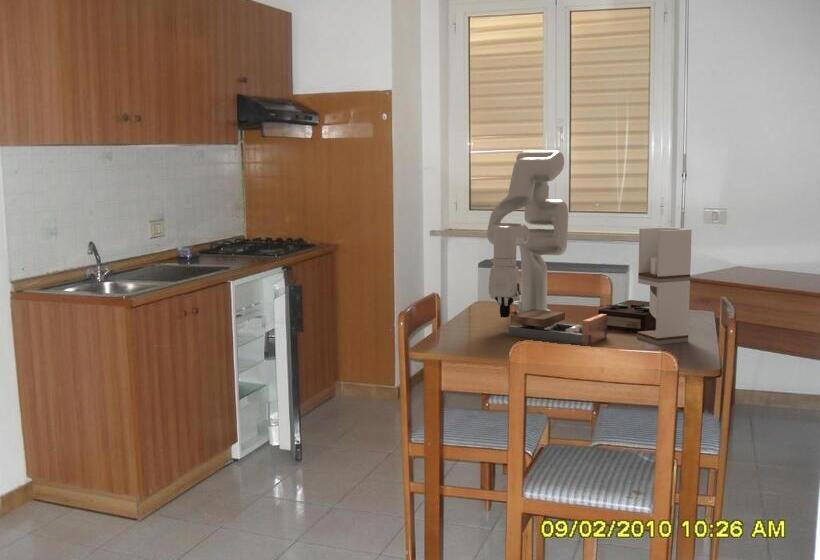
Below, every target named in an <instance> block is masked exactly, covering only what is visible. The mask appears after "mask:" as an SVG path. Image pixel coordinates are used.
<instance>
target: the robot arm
mask: <svg viewBox="0 0 820 560" xmlns="http://www.w3.org/2000/svg"><path fill="white" fill-rule="evenodd" d="M564 166H565V157H564V154H563V153H562V152H561V151H560V150H554V149H553V150H551V149H549V150H524V151H520V152H519V153H518V154H517V156H516V161H515V163H514V164H513V169H512V172H511V173H512V174H511V177H510V183H509V187H508V188H509V189H508V193H507V195H506V197H504V198H503V199H501V201H500V202H498V203H497V205H496V206H495V207H494V209H493V210H492V211H491V213H490V216H489V220H488V221H489V222H488V226H487V231H486V234H487V241H488V242H489V243H490V244H491V245H493V258H491V259H490V262H491V263H493V264H492V266H491V267H490V271H489V278H488V279H489V280H488V295H489V296H490V299H492V300H495V301H496V302H497V303H498V306H499V315H500V318H509V317H510V316H511V315H510V314H511V305H512V307H517V308H518V309H517V310H516V314H518V313H522V312H525V311H528V310H531V309H536V310H546V311H552V310H551V309H549V308H548V266H547V263H546V261H545V259H544V258H543V257H542V256H561V255H563V254H565V253H566V251H567V245H568V231H569V230H568V228H569V227H568V226H569V208H568V205H567V203H566V202H565V200H562V199H553V198H552V199H549V192H550V191H549V190H550V186H549V182H552V181H554V180H555V179H556V178H557V177H558V176H559V175H560V174H561V173H562V171H563V170H564ZM523 207H524V221H525V222H526V224H529V225H532V226H553V228H550V229H549V228H529V226H527V225H526V224H523V223H510V222H509V223H508V222H502V221H503V220H504V218H505V217H506V216H507V215H508V214H509V215H510V213H513V212H516V211H518V210H519V209H521V208H523ZM501 222H502V223H501ZM518 246H519V253H520V266H521V267H520V269H521V270H520V271H519V267H518V266H517V247H518ZM520 272H521V274H520ZM520 275H521V276H520Z"/></svg>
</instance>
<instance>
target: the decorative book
mask: <svg viewBox="0 0 820 560" xmlns="http://www.w3.org/2000/svg"><path fill="white" fill-rule="evenodd" d="M599 307H603V308H600V309H598V310H597V311H598V312H597V315H600V314H607V331H608V330H611V331H620V332H624V333H625V332H626V333H634V334H637V332H641V331H652V330H656V318H654V317H653V316H652V315H651V313H650V310H649V307H650V301H645V300H634V299H629V300H625V301H623V302H619V303H615V304H612V305H610V304H606V305H599Z"/></svg>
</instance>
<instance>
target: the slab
mask: <svg viewBox="0 0 820 560" xmlns="http://www.w3.org/2000/svg"><path fill="white" fill-rule="evenodd" d="M564 320H566V312H565V311H554V310H551V311H546V310H536V309H531V310H528V311H525V312H522V313H518V314H517V313H516V314H511V315H510V324H516V325H520V324H523V325H532V326H540V327H545V326H548V325H551V324H553V323H560V322H562V321H564Z"/></svg>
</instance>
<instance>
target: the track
mask: <svg viewBox="0 0 820 560" xmlns="http://www.w3.org/2000/svg"><path fill="white" fill-rule="evenodd" d="M576 325H577V324H572V323H561V322H556V323H553V324H551V325H548V326H545V327H540V326H532V325H523V324H518V325H509V326H508V336H509V337H510V336H511V337H517V338H526V339H527V338H528V339H535V340H542V341H549V342H550V341H551V342H557V341H561V342H560V343H565V342H568V343H567V344H573V343H577V344H576V345H581V346H590V345H592V344H595V343H598V342H599V341H602V340H605V339H607V338H608V334H607V333H608V329H607V314H600V315H598V314H597V315H594V316H592V317H588V318H587V319H586V318H585V319H584V320H582V334H581V333H572V332H564V330H565V329H567V328H570V327H573V326H576ZM569 342H570V343H569Z"/></svg>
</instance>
